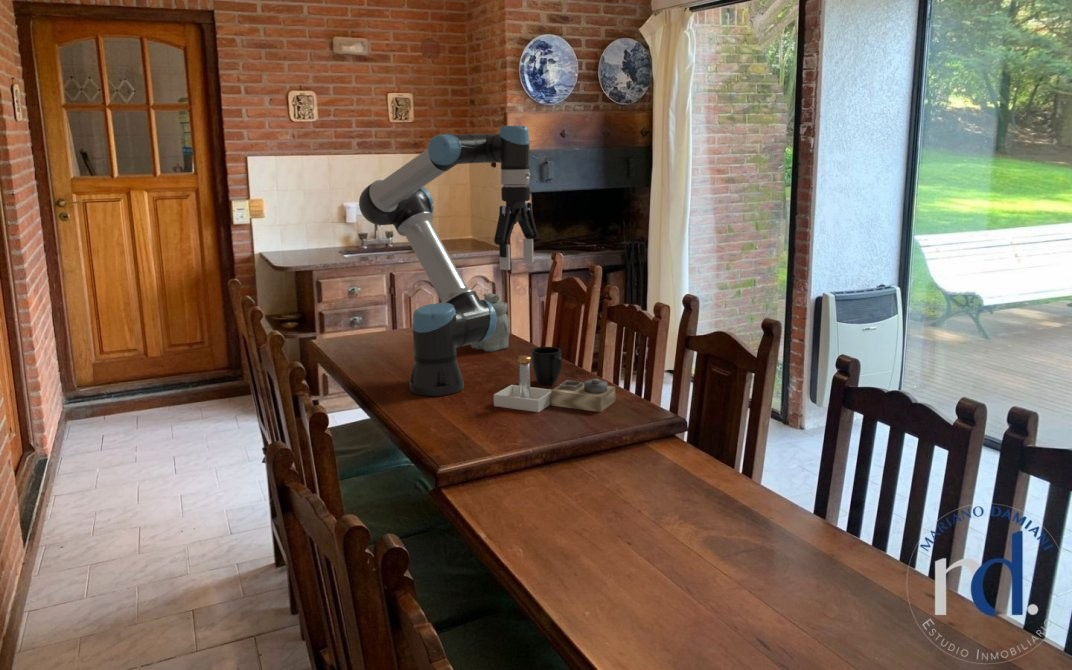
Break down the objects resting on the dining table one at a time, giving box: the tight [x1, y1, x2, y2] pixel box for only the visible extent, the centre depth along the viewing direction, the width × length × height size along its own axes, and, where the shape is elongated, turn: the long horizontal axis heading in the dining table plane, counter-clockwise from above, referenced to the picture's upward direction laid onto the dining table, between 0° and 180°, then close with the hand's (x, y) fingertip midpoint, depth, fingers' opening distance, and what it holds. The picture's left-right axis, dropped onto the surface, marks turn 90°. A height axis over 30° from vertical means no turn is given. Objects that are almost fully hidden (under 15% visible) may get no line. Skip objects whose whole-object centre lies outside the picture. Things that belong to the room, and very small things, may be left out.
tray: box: [493, 384, 552, 413], centre depth 226 cm, size 13×10×3 cm
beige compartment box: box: [550, 378, 616, 413], centre depth 225 cm, size 14×10×7 cm
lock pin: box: [516, 355, 532, 399], centre depth 225 cm, size 4×4×12 cm
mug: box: [531, 346, 563, 386], centre depth 243 cm, size 8×12×10 cm
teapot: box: [470, 292, 510, 352], centre depth 286 cm, size 16×15×19 cm
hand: (517, 266), depth 231 cm, fingers open, 13 cm apart
